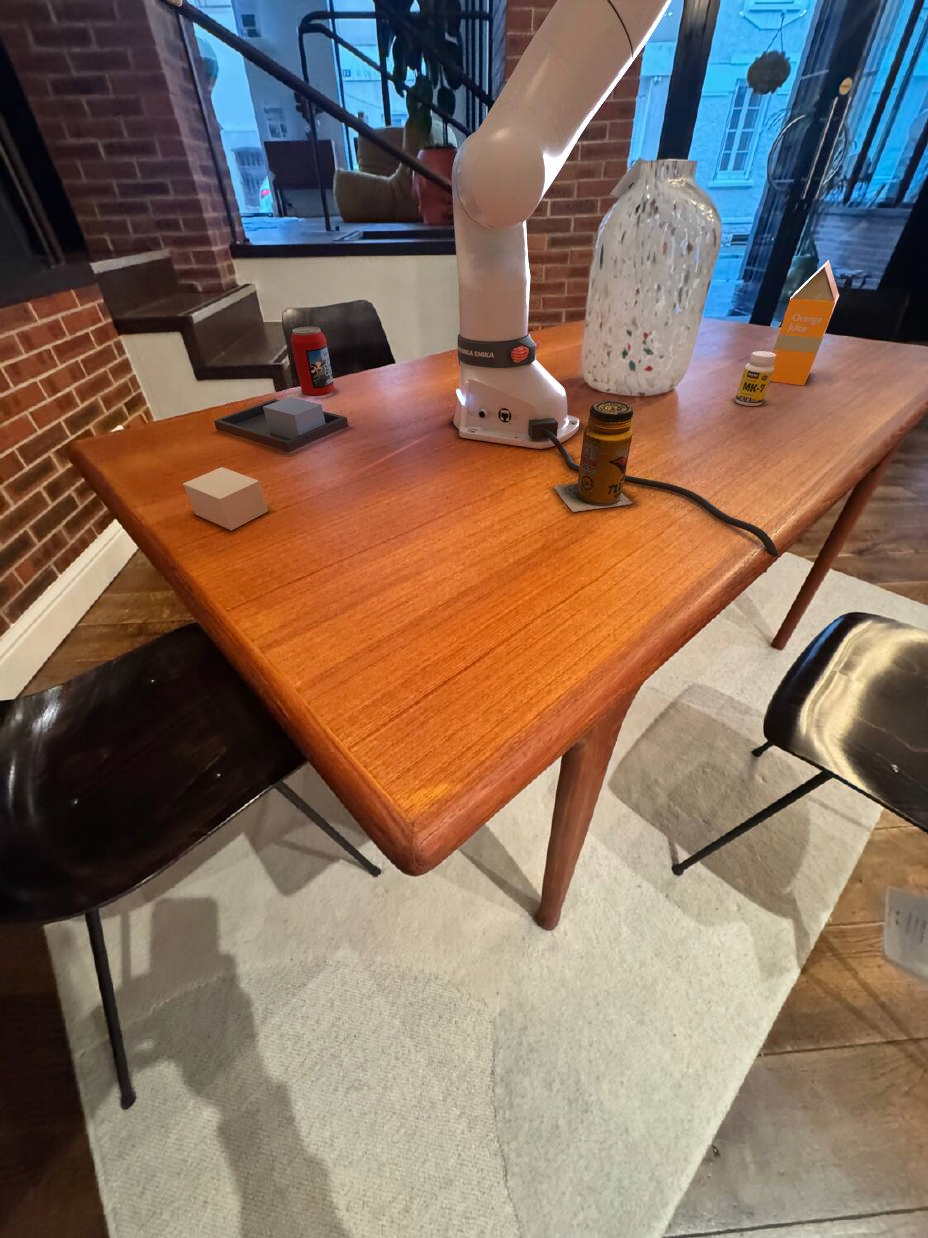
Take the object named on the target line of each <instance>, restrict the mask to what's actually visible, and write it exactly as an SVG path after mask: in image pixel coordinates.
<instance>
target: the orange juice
mask: <svg viewBox="0 0 928 1238" xmlns="http://www.w3.org/2000/svg"><path fill="white" fill-rule="evenodd" d="M839 297H840V293H839V290H838V287H837V283H836V281H835V277H834V274H833V270H832V267H831V263H830V259H827V261H826V262H825V263H824V264H823V265H822V266H821V267H819V269H818V270H817V271H816V272H815V273H814V274H813V275H811V276H810V278H808V280H806V281H805V282H804V283H803V284H802V285H801V286H800V287H799V288H798V289H797V290H796V291H795V292H794V293H793V295H791V297H790V298H789V302H788V305H787V308H786V311H785V313H784V315H783V320H782V323H781V326H780V329H779V333H778V335H777V338H776V341H775V344H774V347H773V350H772V353H774V354H776V358H775V362H774V364H772V366H773V367H774V371H773V374H772V377H771V379H770V382H772V383H773V382H774V383H782V384H789V385H796V386H797V385H798V386H805V385H806V382H807V380H808V378H809V375H810V373H811V371H812V368H813V365H814V362H815V360H816V357H817V354H818V352H819V350H820V346H821V345H822V342H823V340H824V337H825V334H826V331H827V328H828V326H829V324H830V320H831V318H832V315H833V314H834V310H835V307H836V305H837V301H838V300H839Z"/></svg>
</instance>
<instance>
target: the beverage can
mask: <svg viewBox="0 0 928 1238" xmlns="http://www.w3.org/2000/svg"><path fill="white" fill-rule="evenodd" d="M291 332H292V333H291V338H290V345H291V350H292V354H293V360H294V363H295V367H296V373H297V376H298V381H299V385H300V390H301V393H302V394H303V395H306V396H311V397H317V396H319V397H320V396H325V395H328V394H330V393H333V392H334V390H335V384H334V378H333V372H332V366H331V361H330V354H329V350H328V344H327V339H326V336H325V334H324V333H323V332H322V331H321V328H320V327H319V326H301V327H296V328H294V329H292V330H291Z"/></svg>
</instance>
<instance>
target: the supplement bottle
mask: <svg viewBox="0 0 928 1238" xmlns="http://www.w3.org/2000/svg"><path fill="white" fill-rule="evenodd" d="M775 358H776V354H774V353H773V351H772V352H771V351H766V350H765V351H764V350H757V351H752V352H751V355H750V357H749V361H748V363H746V365H745V367H744V369H743V372H742V375H741V380H740V381H739V385H738V389H737V392H736V395H735V398H734V400H735V402H736V403H737V404H739V405H742V406H747V407H757V406H761V405H762V404H763V402H764V400H765V397H766V394H767V391H768V388H769V385H770V382H771V381H770V379H771V377H772V374H773V371H774V367H773V366H772V364H774V362H775Z"/></svg>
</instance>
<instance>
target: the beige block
mask: <svg viewBox="0 0 928 1238" xmlns="http://www.w3.org/2000/svg"><path fill="white" fill-rule="evenodd" d="M182 486H183V488H184V490H185V493H186V495H187V498H188V501H189V503H190V505H191V508H192V510H193V512H194V515H196V516H198V517H200V518H202V519H205V520H206V521H209V522H211V523H214V524H216V525H218V526H220V527H222V528H225V529H227V530H228V531H233V530H235V529H237V528H239V527H242V526H243V525H246V523H249V522H250V521H252V520H255V519H256V518H258V517H260V516H262V515H264V514H266V513H268V512H269V508H268V505H267V502H266V499H265V495H264V492H263V488H262V486H261V482H260V480H258V479H256V478H253V477H250V476H247V475H246V474H242V473H239V472H236V471H233V470H231V469H229V468H226V467H223V466H221V467H219V468H217V469H214V470H211V471H210V472H206V473H205V474H202V475H200V476H198V477H195V478H193V479H191V480H188V481H186V482H184V483H182Z"/></svg>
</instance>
